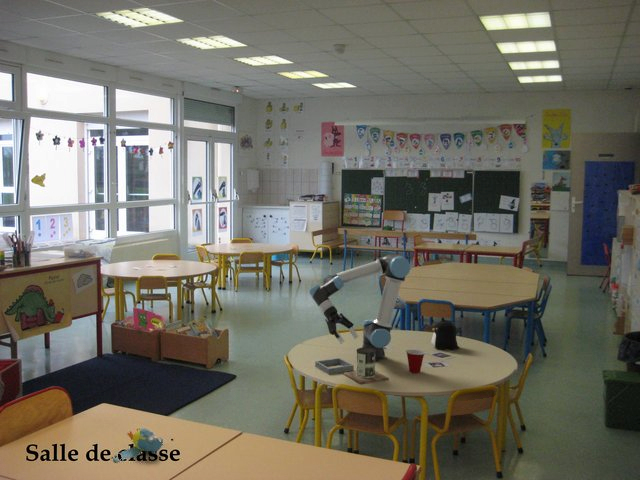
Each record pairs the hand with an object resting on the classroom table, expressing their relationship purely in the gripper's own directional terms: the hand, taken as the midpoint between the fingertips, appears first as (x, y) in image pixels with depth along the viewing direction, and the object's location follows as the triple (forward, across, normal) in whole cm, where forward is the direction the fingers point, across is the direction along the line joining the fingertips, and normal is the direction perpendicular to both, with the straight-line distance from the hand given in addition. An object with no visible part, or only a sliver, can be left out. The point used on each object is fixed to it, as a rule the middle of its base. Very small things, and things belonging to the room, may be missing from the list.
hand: (349, 340), depth 345 cm
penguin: (+26, -83, -1) cm, 87 cm away
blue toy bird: (+9, +132, -18) cm, 134 cm away
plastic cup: (+33, -25, +6) cm, 42 cm away
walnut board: (+21, 0, -5) cm, 22 cm away
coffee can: (+20, 0, -5) cm, 21 cm away
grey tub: (+5, -2, -21) cm, 22 cm away
